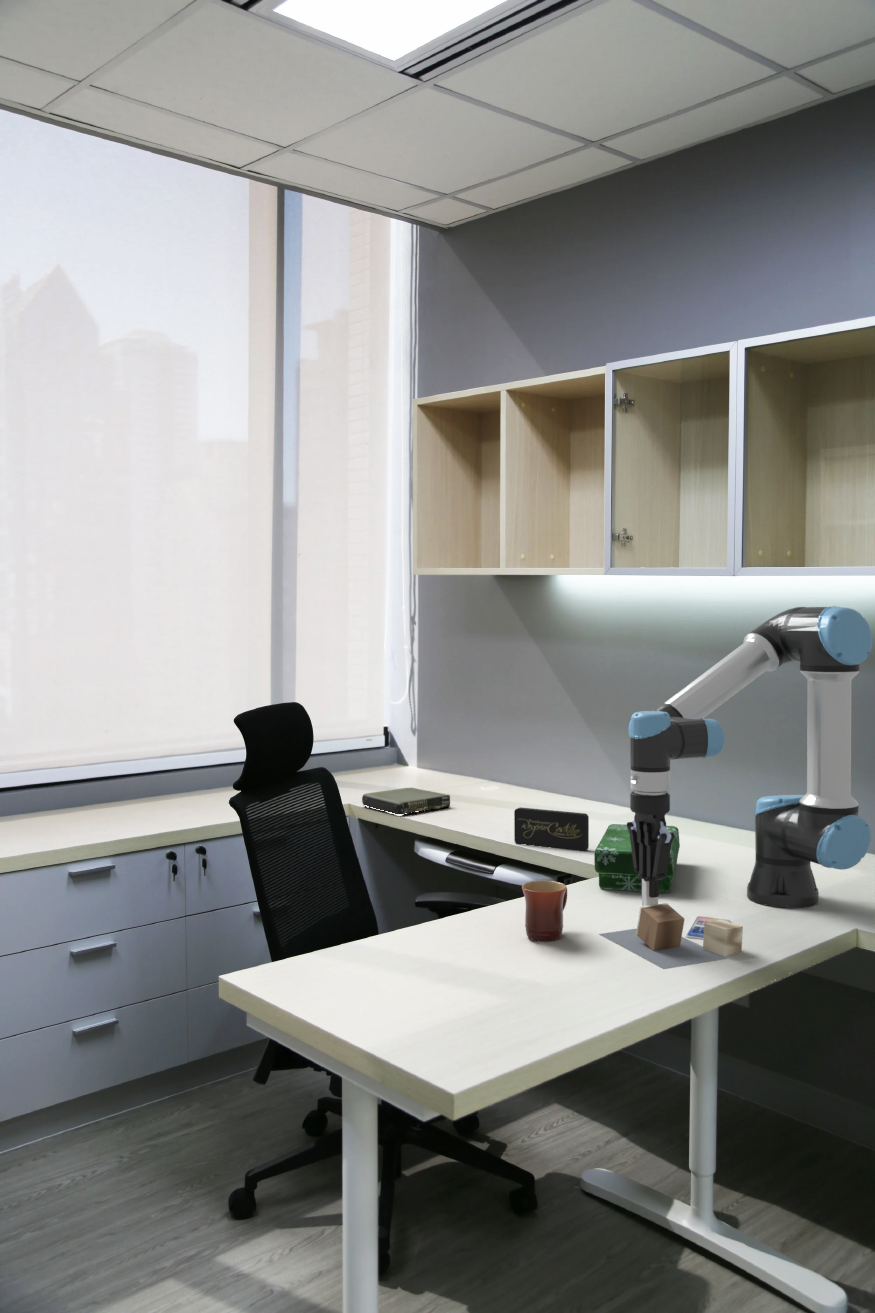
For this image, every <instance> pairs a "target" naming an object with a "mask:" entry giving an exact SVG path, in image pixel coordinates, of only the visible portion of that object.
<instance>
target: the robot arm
mask: <svg viewBox="0 0 875 1313" xmlns="http://www.w3.org/2000/svg"><path fill="white" fill-rule="evenodd" d="M742 642H743V643H742V644H741V645H739V646H738V647H737V648H735V649H734V650H732V651H731V652H730V653H729V654H727V655H726V656H725V657H723V658H722V659H721V660H720V661H718V662H717V663H715V664H714V665H713V666H712V667H710V668H709V669H708V670H706V671H705V672H703V673H702V674H701V675H699V677H697V678H695V679H694V680H693V681H692V682H690V683H689V684H688V685H687V686H685V687H683V688H682V689H681V690H680V691H678V692H677V693H676V694H674V695H673V696H671V697H670V698H669V699H668V700H666V701H665V702H664V703H662V704H661V705H659V706H658V707H656V709H654V710H640V711H636V712H633V714H632V715H631V718H630V721H629V724H628V735H629V740H630V741H629V743H630V744H629V745H630V746H629V748H630V749H629V754H630V764H629V765H630V777H629V778H630V789H631V790H632V792H631V793H630V795H629V797H630V798H629V801H630V802H629V804H630V807H629V808H630V811H631V812H632V813H634V817H633V820H632V821H629V822H627V823H626V825H627V828H628V831H629V834H630V842H631V850H632V857H633V865H634V871H635V872H636V873H637V872H638V873H639V876H640V878H641V885H642V886H641V891H642V892H641V907H642V906H649V905H656V904H659V895H660V893H659V880H660V879H666V876H667V870H668V863H669V857H670V850H671V844H672V842H673V840H674V837H675V835H674V833H673V832H671V833H669V832H668V830H667V829H666V826H667V821H666V817H665V816H666V815H667V814H668V813H669V812H670V810H671V795H670V794H669V791H670V790H671V760H678V759H679V760H681V759H683V760H684V759H698V758H703V759H706V758H709V757H715V756H718V755H719V754H720V753H721V752H722V751H723V749H724V746H725V739H726V738H725V731H724V728H723V726H722V724H721V723H720V722H719V721H718V720H716V719H713V718H706V717H707V716H708V715H710V714H711V713H712V712H714V711H715V710H716V709H718V708H719V707H720V706H722V704H725V703H726V702H727V701H728V700H729V699H731V698H732V697H733V696H735V695H736V694H737V693H739V692H740V691H742V690H743V689H744V688H745V687H746V686H748V685H750V683H752V682H753V681H755V680H756V679H758V677H760V676H761V675H763V674H764V673H765V672H774V671H776V670H777V669H778V668H780V667H782V666H783V665H786V664H789V663H793V662H799V672H800V673H801V674H802V675H803V676H804V678H806V680H807V689H806V690H807V694H806V695H807V708H806V709H807V710H806V711H807V714H806V715H807V717H806V718H807V721H806V723H807V725H806V727H807V731H806V732H807V734H806V735H807V736H806V737H807V738H806V741H807V742H806V743H807V745H806V747H807V748H806V749H807V750H806V752H807V754H806V755H807V756H806V793H805V794H780V795H778V794H777V795H767V796H766V795H765V796H762V797H760V798H759V799H757V800H756V804H755V805H756V806H755V813H754V816H755V818H754V823H755V824H754V825H755V826H754V827H755V832H754V833H755V836H754V838H755V839H754V840H755V849H754V850H755V857H754V858H755V861H754V866H753V869H752V872H751V875H750V878H749V882H748V884H747V886H746V897H747V898H748V899H749V900H750V901H753V902H754V903H757V904H760V905H764V906H769V907H776V908H793V909H794V908H807V907H812V906H815V905H818V903H819V894H820V892H819V889H818V886H817V884H816V879H815V876H814V873H813V870H812V866H811V863H814V864H817V865H821V867H823V868H827V869H835V870H842V871H843V870H848V869H851V868H853V867H854V866H856V865H858V864H859V863H860V862H861V860H862V859H863V858H865V856H866V854H867V853H868V851H869V849H870V846H871V841H872V833H871V832H872V831H871V828H870V826H869V824H867V821H866V820H865V819H864V818H863V817H861V816H860V815H859V802H858V801H857V800H856V799H855V798H854V797H853V796H852V793H851V792H852V789H851V788H852V787H851V786H852V775H851V774H852V769H851V768H852V682H853V679H854V678H855V677H856V676H857V675H858V674H859V673H860V664H861V663H862V662H864V661H865V660H866V659H867V658H868V656H869V655H868V654H870V653H871V650H872V648H873V634H872V630H871V626H870V624H869V622H868V620H866V618H865V617H863V615H862V614H861V613H860V612H859V611H857V610H855V609H853V608H850V607H845V606H844V607H842V606H835V605H834V606H833V605H832V606H821V607H820V606H816V607H815V606H814V607H813V606H811V607H809V606H800V607H799V606H797V607H793V608H788V609H786V610H784V611H781V612H779V613H777V614H776V615H774V616H772V617H771V618H769V619H768V620H765V621H764V622H763V623H761V624H760V625H758V626H757V627H756V628H754V629H753V630H752V631H750V632H749V633H748V634H746V635H745V636H744V639H743V641H742Z"/></svg>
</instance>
